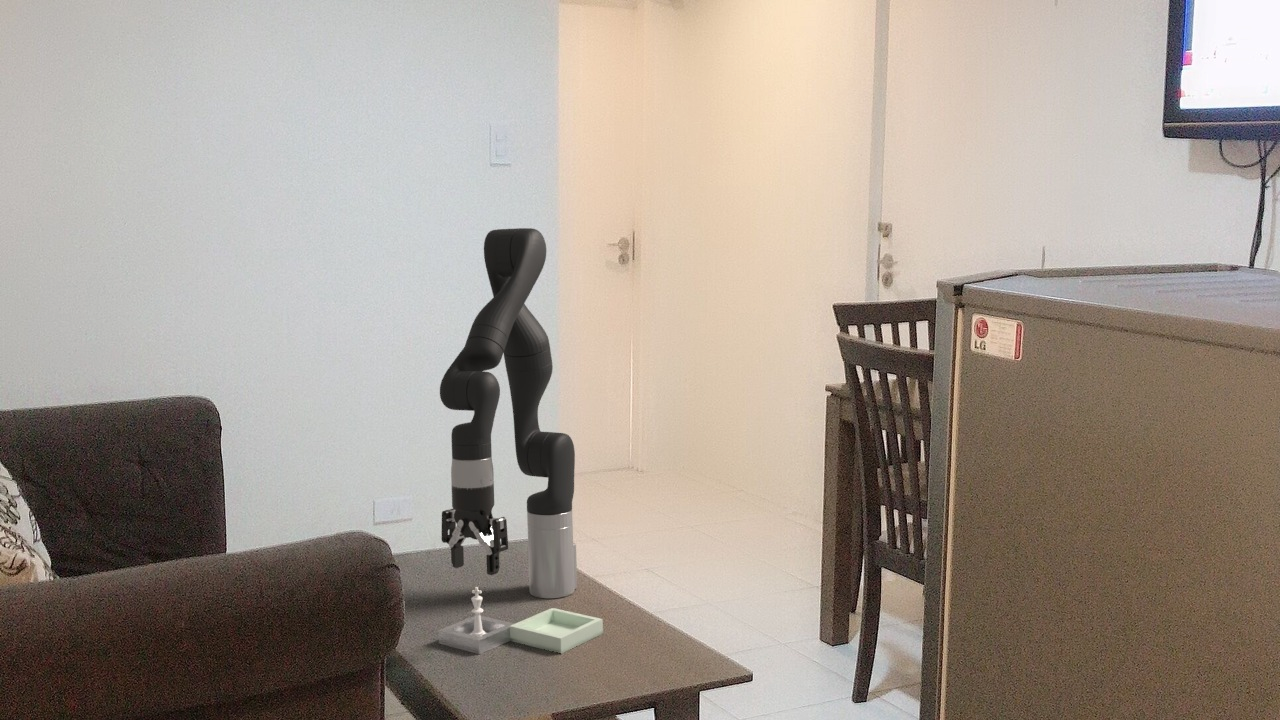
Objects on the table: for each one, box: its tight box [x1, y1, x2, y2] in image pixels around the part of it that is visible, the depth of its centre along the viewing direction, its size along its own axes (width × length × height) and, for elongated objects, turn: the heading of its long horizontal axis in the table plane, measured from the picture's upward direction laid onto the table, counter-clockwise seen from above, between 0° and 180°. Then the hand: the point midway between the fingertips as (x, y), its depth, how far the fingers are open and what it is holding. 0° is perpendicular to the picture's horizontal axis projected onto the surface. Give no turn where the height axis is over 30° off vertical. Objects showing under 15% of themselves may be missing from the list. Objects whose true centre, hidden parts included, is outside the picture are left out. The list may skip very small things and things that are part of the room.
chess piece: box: [470, 586, 486, 637], centre depth 209 cm, size 5×5×10 cm
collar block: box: [438, 615, 514, 655], centre depth 210 cm, size 10×10×2 cm
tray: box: [509, 607, 604, 655], centre depth 211 cm, size 12×12×3 cm
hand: (475, 570), depth 208 cm, fingers open, 8 cm apart
